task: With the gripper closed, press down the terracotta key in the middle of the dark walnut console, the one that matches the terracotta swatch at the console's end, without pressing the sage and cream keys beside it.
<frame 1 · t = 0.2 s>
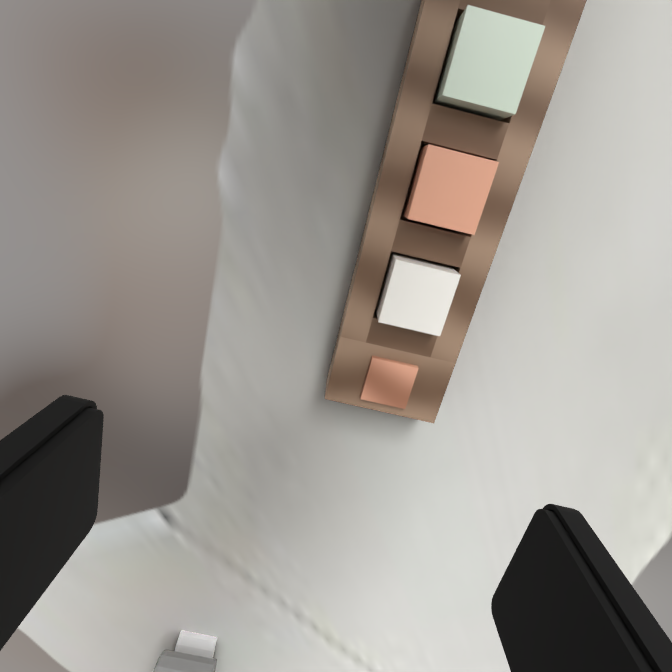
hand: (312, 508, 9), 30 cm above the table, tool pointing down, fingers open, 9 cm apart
console: (436, 189, 35), on the table
cream key: (415, 293, 34), point 4 cm above the table, slide at 0.0 cm
sage key: (485, 67, 29), point 4 cm above the table, slide at 0.0 cm
terracotta key: (447, 190, 31), point 4 cm above the table, slide at 0.0 cm
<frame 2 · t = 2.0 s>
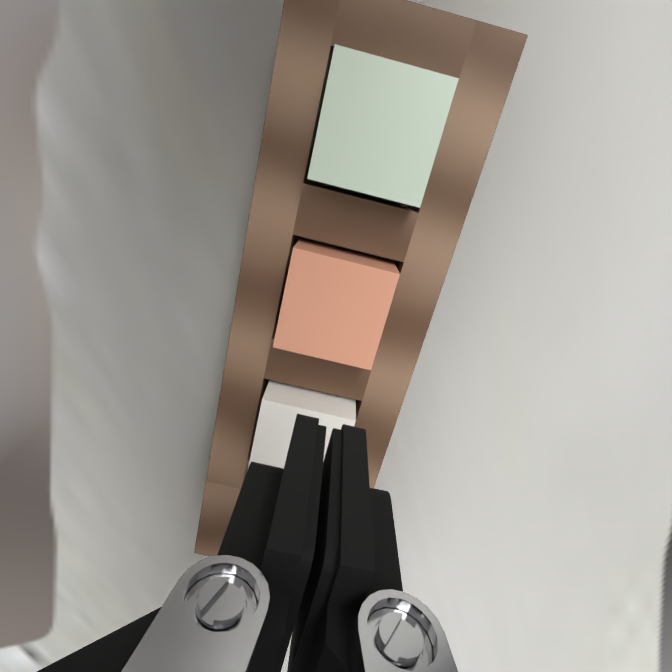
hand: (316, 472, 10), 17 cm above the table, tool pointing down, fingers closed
console: (337, 283, 26), on the table
cream key: (302, 432, 25), point 4 cm above the table, slide at 0.0 cm
sage key: (377, 134, 19), point 4 cm above the table, slide at 0.0 cm
terracotta key: (335, 302, 22), point 4 cm above the table, slide at 0.0 cm
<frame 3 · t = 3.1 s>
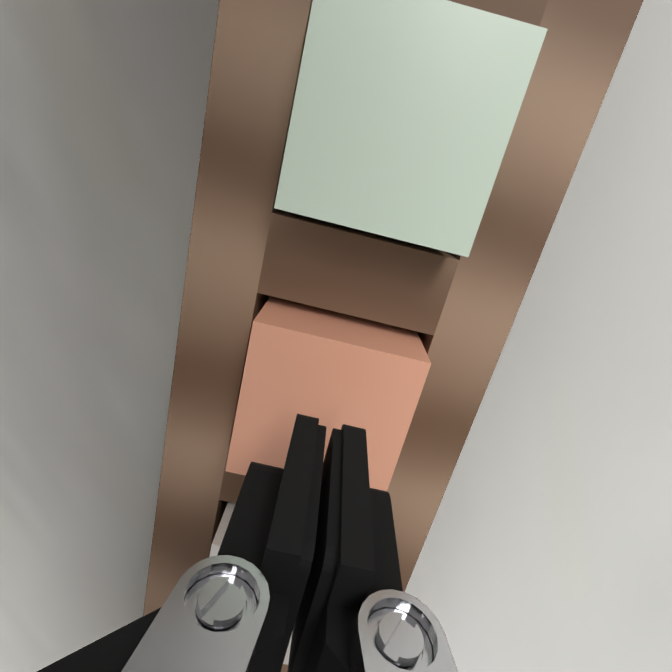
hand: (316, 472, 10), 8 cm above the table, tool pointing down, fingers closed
console: (330, 349, 18), on the table
cream key: (278, 573, 17), point 4 cm above the table, slide at 0.0 cm
sage key: (394, 132, 11), point 4 cm above the table, slide at 0.0 cm
terracotta key: (325, 394, 14), point 4 cm above the table, slide at 0.0 cm
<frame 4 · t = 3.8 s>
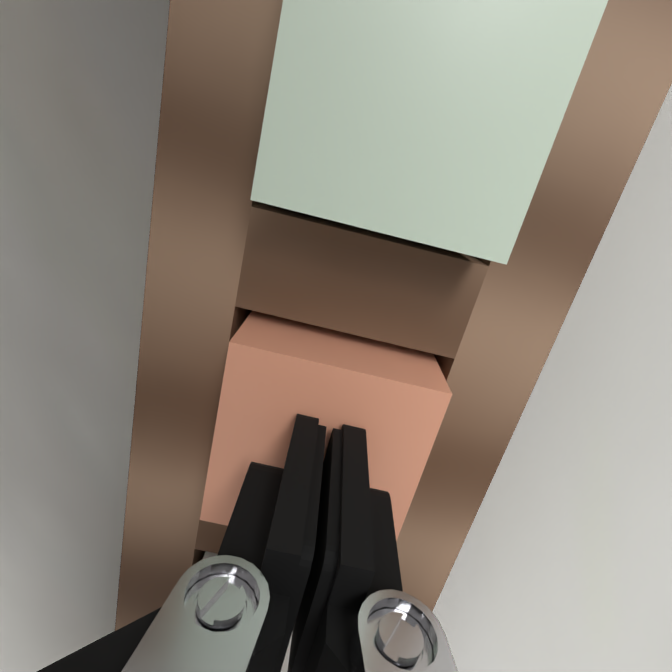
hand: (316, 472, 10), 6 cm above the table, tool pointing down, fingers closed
console: (328, 366, 15), on the table
cream key: (266, 631, 14), point 4 cm above the table, slide at 0.0 cm
sage key: (408, 101, 9), point 4 cm above the table, slide at 0.0 cm
terracotta key: (321, 425, 12), point 4 cm above the table, slide at 0.2 cm, touching gripper
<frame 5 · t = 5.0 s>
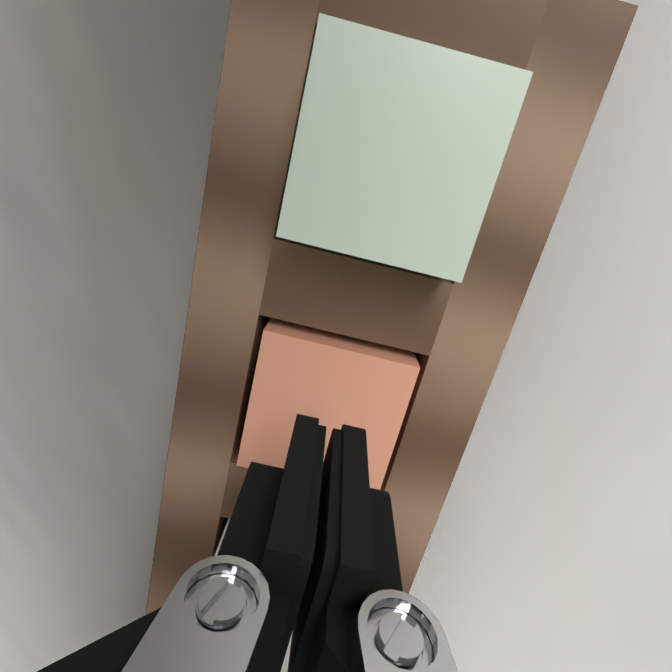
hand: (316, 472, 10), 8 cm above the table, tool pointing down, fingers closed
console: (329, 367, 18), on the table
cream key: (278, 589, 17), point 4 cm above the table, slide at 0.0 cm
sage key: (390, 164, 12), point 4 cm above the table, slide at 0.0 cm
terracotta key: (326, 397, 16), point 3 cm above the table, slide at 1.2 cm
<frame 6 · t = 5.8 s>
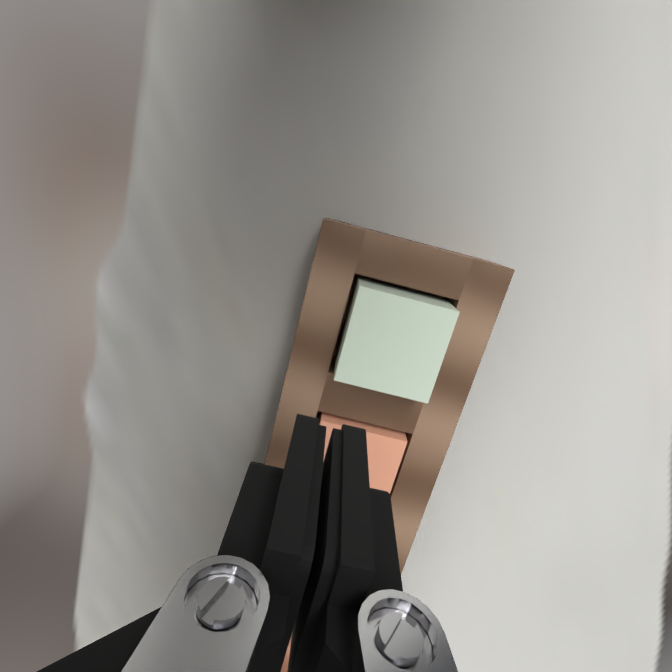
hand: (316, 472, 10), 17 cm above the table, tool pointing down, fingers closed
console: (351, 430, 29), on the table
sage key: (391, 337, 23), point 4 cm above the table, slide at 0.0 cm
terracotta key: (352, 454, 26), point 3 cm above the table, slide at 1.2 cm
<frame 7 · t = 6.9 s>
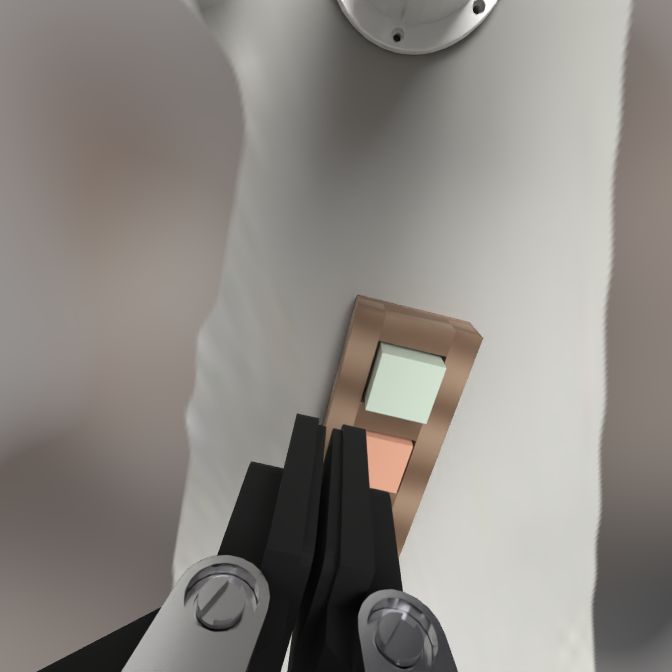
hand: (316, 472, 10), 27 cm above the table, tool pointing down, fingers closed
console: (373, 435, 41), on the table
sage key: (402, 380, 35), point 4 cm above the table, slide at 0.0 cm
terracotta key: (375, 453, 38), point 3 cm above the table, slide at 1.2 cm
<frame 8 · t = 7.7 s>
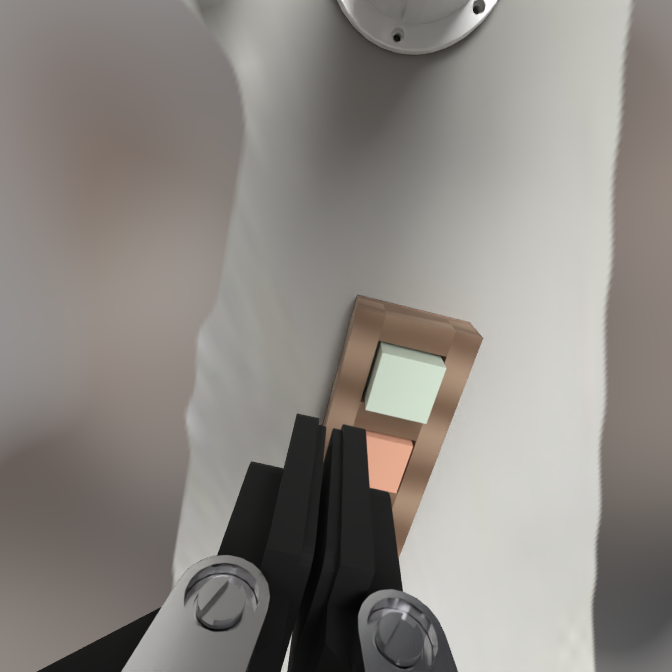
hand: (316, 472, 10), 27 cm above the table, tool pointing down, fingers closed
console: (373, 435, 41), on the table
sage key: (402, 380, 35), point 4 cm above the table, slide at 0.0 cm
terracotta key: (375, 453, 38), point 3 cm above the table, slide at 1.2 cm
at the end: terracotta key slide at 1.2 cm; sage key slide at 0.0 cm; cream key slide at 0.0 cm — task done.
